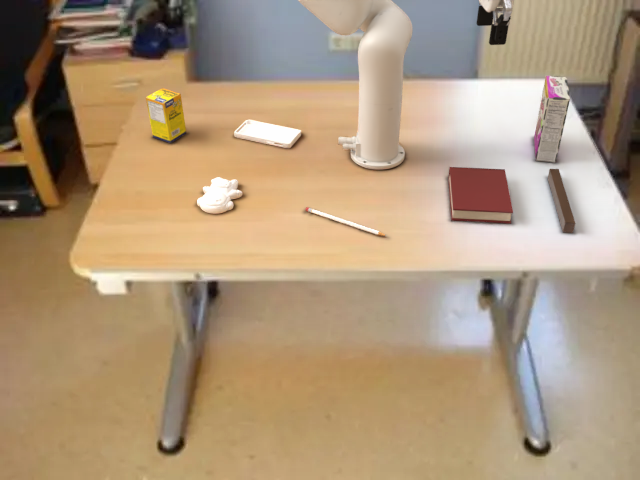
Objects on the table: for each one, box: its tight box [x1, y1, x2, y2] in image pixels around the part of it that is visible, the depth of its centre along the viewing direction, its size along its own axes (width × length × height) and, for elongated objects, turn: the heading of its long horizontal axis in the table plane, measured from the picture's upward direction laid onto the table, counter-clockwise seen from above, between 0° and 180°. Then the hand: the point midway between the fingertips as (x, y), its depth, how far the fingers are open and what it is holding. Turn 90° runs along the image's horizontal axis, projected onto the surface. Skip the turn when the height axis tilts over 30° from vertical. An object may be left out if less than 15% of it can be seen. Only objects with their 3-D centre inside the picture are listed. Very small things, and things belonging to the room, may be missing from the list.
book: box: [447, 166, 514, 225], centre depth 150 cm, size 12×16×3 cm
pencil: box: [305, 206, 387, 237], centre depth 144 cm, size 1×19×1 cm, turn 60°
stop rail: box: [547, 168, 576, 234], centre depth 149 cm, size 2×20×2 cm, turn 174°
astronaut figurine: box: [196, 176, 243, 215], centre depth 151 cm, size 9×12×3 cm
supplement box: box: [145, 87, 187, 144], centre depth 170 cm, size 6×6×11 cm
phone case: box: [233, 119, 302, 149], centre depth 173 cm, size 7×1×15 cm
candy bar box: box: [533, 75, 571, 164], centre depth 162 cm, size 11×5×16 cm, turn 168°
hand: (490, 34), depth 141 cm, fingers open, 9 cm apart
